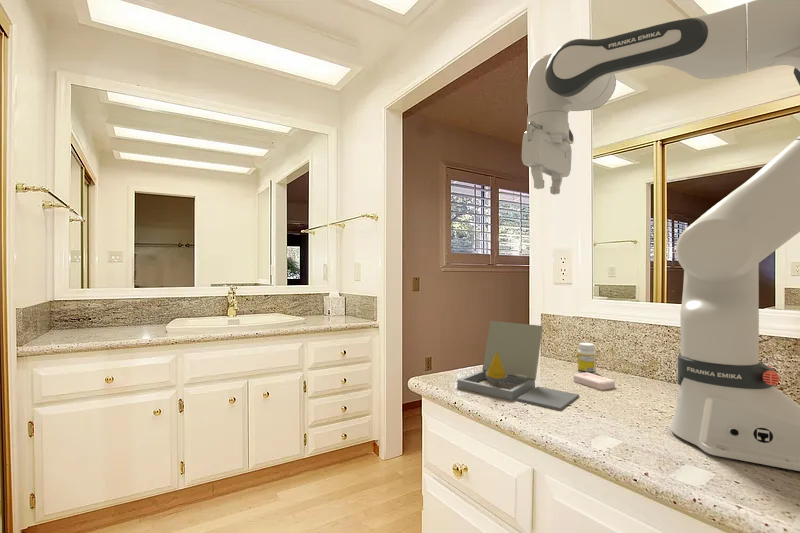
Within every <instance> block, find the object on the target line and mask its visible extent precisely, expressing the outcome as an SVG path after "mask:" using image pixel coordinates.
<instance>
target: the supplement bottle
mask: <svg viewBox="0 0 800 533" xmlns="http://www.w3.org/2000/svg"><path fill="white" fill-rule="evenodd" d="M596 357H597V355H596V350H595V344H593V343H591V342H579V343H578V350H577V372H578V373H586V372H587V373H591V374H594V375H596V373H597V364H596V363H597V361H596V360H597V359H596Z"/></svg>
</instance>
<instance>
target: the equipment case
mask: <svg viewBox="0 0 800 533" xmlns="http://www.w3.org/2000/svg"><path fill="white" fill-rule="evenodd" d="M543 329H544V326H542V325H539V324H538V325H536V324H526V323H518V322H506V321H496V320H495V321H494V320H490V323H489V328H488V332H487V333H488V335H487V340H486V345H485V350H484V351H485V352H484V358H483V364H482V367H481V369H482V370H479V371H477V372H474V373H471V374H469V375H466V376H463V377H461V378H459V379H456V380H457V381H456V382H457V383H456V384H457V386H456V387H457V389H462V390H465V391H470V392H475V393H478V392H479V394H482V395H483V394H484V395H487V396H491V395H492V396H493V397H495V396H496V397H497V398H500V397H501V399H504V398H505V399H504V400H508V401H509V400H510V401H514V400H515V399H517V398H518V397H520V396H521V395H523V394H525V393H527V392H529V391H530V390H532V389H534V388H536V380H537V379H536V378H537V372H538V365H539V358H540V350H541V345H542V344H541V343H542V335H543ZM496 352H498V355H499V357H500V360H501V363H502V366H503V368H504V371H505V372H506V373H507V380H506V381H505V382H504V383H506V384H510V383H511V385H516V386H514V387H512V388H511V389H507V388H504V387H499V386H498V387H496V386H495V385H489V384H483V383H479V381H481V380H484V379H486V371H488V370H489V367H490V365H491V363H492V361H493V358H494V356H495V354H496ZM486 380H487V379H486Z"/></svg>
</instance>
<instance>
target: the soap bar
mask: <svg viewBox="0 0 800 533" xmlns="http://www.w3.org/2000/svg"><path fill="white" fill-rule="evenodd" d="M572 378H573V379H572V380H573V382H576V383H579V384H580V385H583V386H584V385H585V386H587V387H590V388H594V389H596V390H601V391H604V390H609V389H613V388H616V380H613V379H611V378H608V377H604V376H600V375H597V374H591V373H587V372H586V373H580V372H578V373H574V374H573V377H572Z"/></svg>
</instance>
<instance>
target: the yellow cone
mask: <svg viewBox="0 0 800 533" xmlns="http://www.w3.org/2000/svg"><path fill="white" fill-rule="evenodd" d="M486 380H487V381H488V382H492V383H493V384H494V385H493V386H494V387H499V385H500V383H505V381H506V380H507V373H506V372H505V371H504V368H503V366H502V363H501V360H500V357H499V355H498V352H496V354H495V356H494V358H493V361H492V363H491V365H490V367H489V370H488V371H486Z"/></svg>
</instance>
